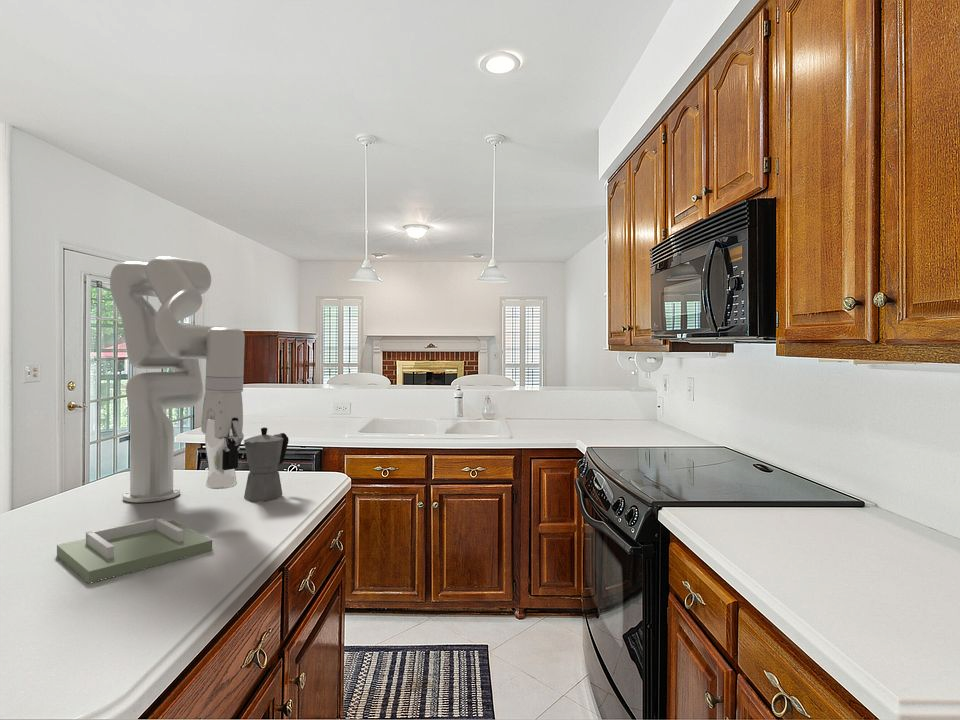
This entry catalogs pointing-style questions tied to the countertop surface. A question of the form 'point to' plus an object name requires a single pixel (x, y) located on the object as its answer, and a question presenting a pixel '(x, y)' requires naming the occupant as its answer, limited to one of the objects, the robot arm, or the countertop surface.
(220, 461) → the beer glass
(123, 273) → the robot arm
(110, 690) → the countertop surface
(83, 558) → the plate
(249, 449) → the coffeepot
